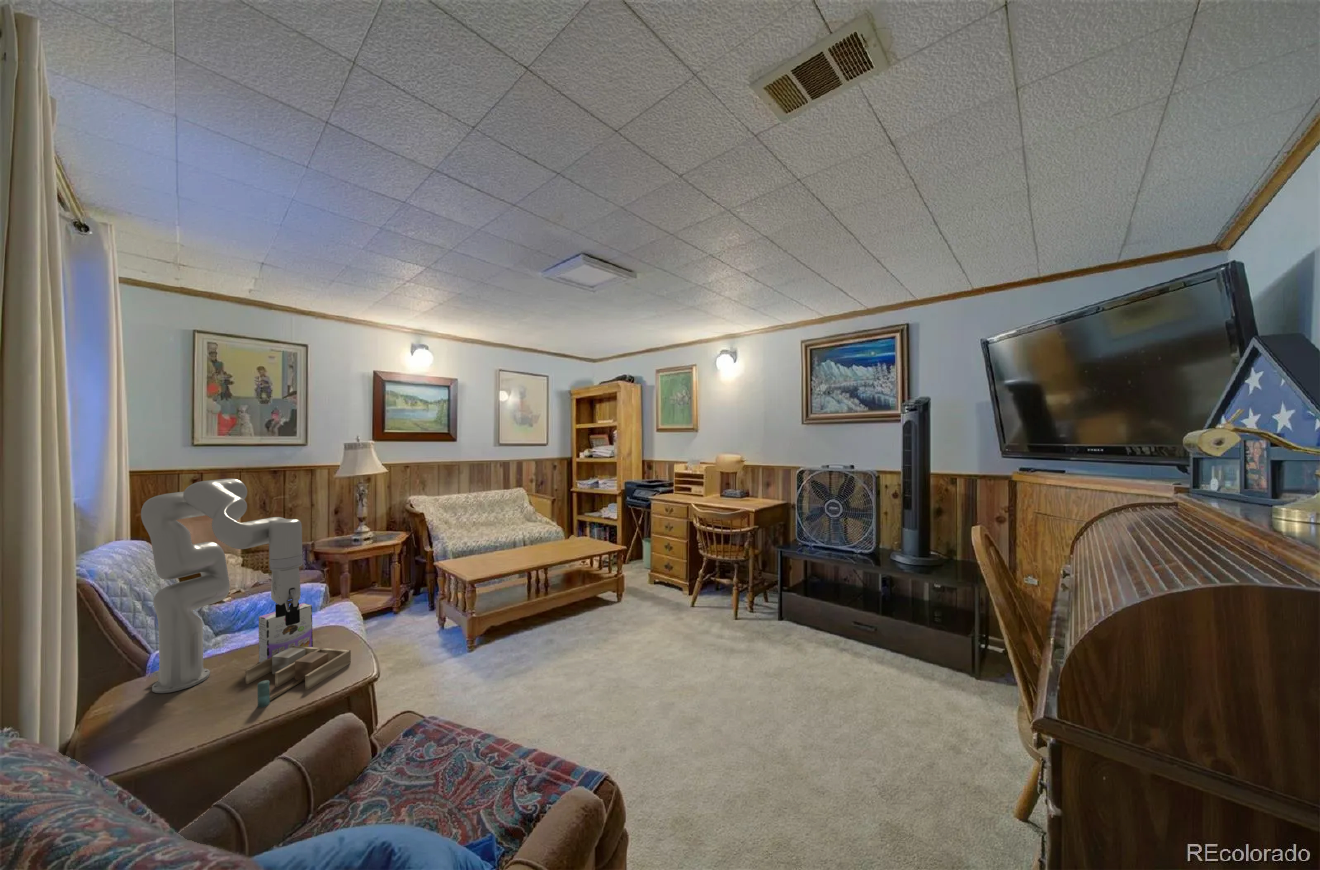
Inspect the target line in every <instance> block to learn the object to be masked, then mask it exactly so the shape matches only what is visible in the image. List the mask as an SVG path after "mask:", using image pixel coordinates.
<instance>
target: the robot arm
mask: <svg viewBox="0 0 1320 870" xmlns="http://www.w3.org/2000/svg"><path fill="white" fill-rule="evenodd" d="M247 496H248V489H247V486H246V485H245V483H244V482H243V481H241V480H240V479H237V478H221V479H211V480H201V481H197V482H194V483H192V484H190V485H188V486H187V487H186V488H185V489H184V490H183V491H177V492H171V493H163V494H159V495H155V496H153V497H151V498H149V499H147V500H146V501H144V503H143V505H142V508H141V509H140V510H141V511H140V517H141V519H140V520H141V522H142V524H143V526H144V528H145V530H146V532H147V533H148V536H149V539H150V543H151V549H152V555H153V560H154V567H155V571H156V573H157V576H158V577H159V578H160V579H161V580H164V581H165V580H166V581H167V580H171V581H172V580H175V579H180V578H181V579H182V578H185V577H189V576H193V575H197V574H200V576H199V577H194V578H192V579H187V580H183V581H179V582H176V583H173V584H169V585H167V586H165V587H163V588H161V589H159V590H158V591H157V592H156V593H155V595H154V597H153V601H152V602H153V608H154V610H155V614H156V618H157V624H158V625H157V626H158V658H159V659H158V660H159V661H158V664H159V665H158V666H159V667H158V670H155V671H153V673H152V676H153V677H157V681H155V683H153V685H152V686H151V691H152V692H153V693H156V694H167V693H173V692H178V691H183V690H185V689H188V688H191V687H193V686H196V685H198V684H201V683H202V682H204V681H205V680H207V679H208V678H210V675H211V671H210V669H208V668H205V667H204V628H203V627H204V626H203V621H202V618H201V617H199V615H197V614H195V613H194V611H195V610H197V609H199V608H200V609H201V608H203V607H206V606H209V605H213V604H215V603H217V602H218V603H219V602H221V601H223V600H225V599H226V598H227V597H228V595H229V593H230V587H231V585H230V578H229V577H230V576H229V572H228V566H227V559H226V555H225V552H224V551H225V550H224V549H223V548H222V547H221V546H220V544H218V543H216V542H214V541H205V542H199V543H194V544H193V542H192V541H193V540H192V536H191V535H192V534H191V532H190V531H191V530H190V529H188V527H186V526H185V525H184V524H183V523H181V522H180V521H178V520H184V519H189V518H190V519H191V518H197V517H204V516H206V517H209V518H210V519H212V521H211V527H212V528H211V529H212V532H213V534H214V536H215V538H216V539H217V540H218V541H219V542H222V543H223V544H225V545H226V546H228V547H230V548H232V549H236V550H246V549H250V548H255V547H259V546H263V545H268V556H269V559H268V560H269V561H268V563H269V571H270V572H271V580H270V581H271V582H270V585H271V586H270V593H271V594H270V597H271V600H272V601H273V602H274V603H275V604H274V605H275V608H274V610H275V611H276V617H277V618H278V617H282V616H285V624H286V626H289V625H293V624H296V623H299V622H300V607H299V604H300V602H299V601H300V600H301V593H302V592H301V589H302V588H301V577H300V576H301V575H300V574H301V573H300V567H301V566H303V565H304V564H303V560H304V559H303V528H302V527H303V525H302V522H301V520H299V519H296V518H284V517H281V516H273V517H268V518H267V517H266V518H259V519H255V520H254V519H253V520H249V521H244V522H240V521H238V520H239V519H241V518H242V517H243V516H244V515H245V514H246V512H247V510H248V503H247V502H246V500H245V499H246V498H247Z"/></svg>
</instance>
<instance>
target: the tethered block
mask: <svg viewBox="0 0 1320 870" xmlns="http://www.w3.org/2000/svg"><path fill="white" fill-rule="evenodd" d="M327 662H328V653H320V652H311V653H309V654H307V655H305V656H303V657H302V658H300V659H298V660H296V661H295V677H294V679H295V680H294V681H295V682H294V683H292V684H290V685H288V686H287V687H285V688H284V689H282V690H280V691H279V692H277V693H275V694H273V695H272V696H270V692H271V691H270V690H271V689H270V680H269V679H265V680H262V681H259V682H257V708H259V709H260V708H261V709H262V708H265V707H268V706H269V705H270V704H271V701H272V700H273V699H275V698H277V697H279V696H280V695H283V694H284V693H286V692H287V691H289V690H291V689H292V688H295V686H296V685H298V684H300V683H302V682H305V675H307V674H309V673H310V672H312V671H314V670H315V669H317V668H319V667H320V666H322V665H324V664H325V663H327Z"/></svg>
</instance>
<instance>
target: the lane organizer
mask: <svg viewBox="0 0 1320 870" xmlns="http://www.w3.org/2000/svg"><path fill="white" fill-rule="evenodd" d="M290 648H302V649H305V655H307V654H309V653H311V652H320V653H328V662H327V663H325V664H324V665H322V666H320V667H319V668H317V669H315V670H314V671H312V672H310V673H309V674H307V675H305V681H304V685H305V687H304V690H310V689H312V688H313V687H314V686H316V685H319V683H321V682H323V681H324V680H326V679H327V678H329V677H331V676H332V675H334V674H335V673H337V672H339V671H340V670H341V669H343V668H344V667H346V666H348V665H350V664H351V663H352V659H351V657H352V655H351V654H352V653H351V651H352V650H349V649H339V648H327V647H315V646H313V647H304V646H292V647H290ZM244 671H245V684H247V685H249V684H251V683H253V682H255V681H257V680H258V679H260V678H263V677H264V676H265V675H268V674H270V673H272V657H270V658H268V659H266V660H264V661H263V662H261V663H260V662H258V663H257V664H255V665H252V666H251V667H249V668H247V669H245V670H244ZM293 678H294V679H295V662H294V663H292V664H290V665H288V666H287V667H285V668H283V669H281V670H279V671H277V672H276V673H275V674H274V687H277V688H278V687H280V686H282V685H283V684H285V683H287V682H289V681H291V680H292V679H293Z"/></svg>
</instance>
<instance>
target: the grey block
mask: <svg viewBox="0 0 1320 870" xmlns="http://www.w3.org/2000/svg"><path fill="white" fill-rule="evenodd" d="M303 656H305V649H302V648H288V649H286V650H284V651H282V652H280V653H278V654H276V655H274V656H272V671H271V673H272V675H275V673H276V672H277V671H279V670H281V669H283V668H285V667H287V666H288V665H290V664H292V663H294V662H295V661H296V660H298V659H300V658H302V657H303Z"/></svg>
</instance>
